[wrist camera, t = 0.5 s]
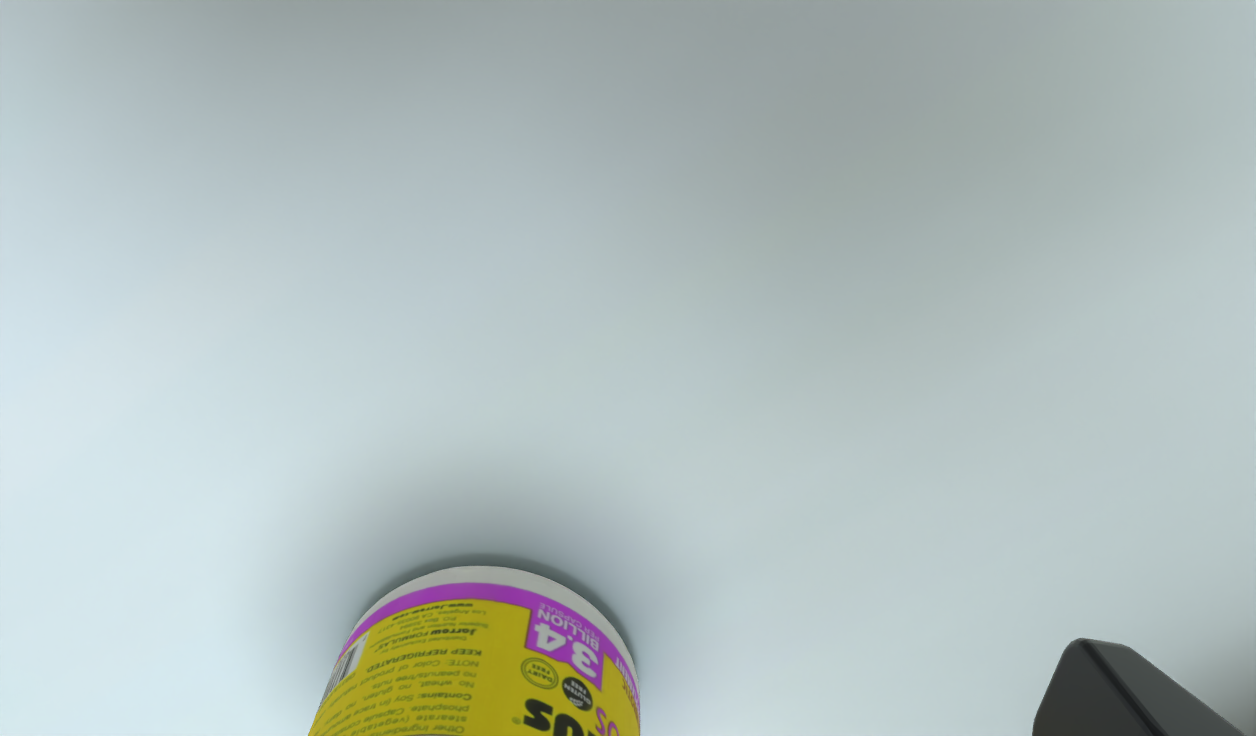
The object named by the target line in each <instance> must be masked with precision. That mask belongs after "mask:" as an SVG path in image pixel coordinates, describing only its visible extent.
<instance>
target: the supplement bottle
mask: <svg viewBox="0 0 1256 736" xmlns="http://www.w3.org/2000/svg"><path fill="white" fill-rule="evenodd" d="M308 736H640V692H639V684H638V678H637V674H636V670H635V667H634V664H633V660H632V658H631V656H630V654H629V652H628V650H627V648H626V645H625V644H624V642H623V640H622V639H621V637H620V636H619V634H618V632H617V631H616V630H615V628H614V627H613V626H612V625H611V623H610V622H609V621H608V620H607V619H606V618H605V617H604V616H603V615H602V614H601V613H600V612H599V611H598V610H597V609H596V608H595V607H594V606H593V605H592V604H590V603H589V602H588V601H587V600H585V599H584V598H583V597H581V596H580V595H578V594H576V593H575V592H573V591H572V590H570V589H569V588H567V587H565V586H563V585H561V584H558V583H556V582H554V581H552V580H550V579H547V578H545V577H542V576H540V575H536V574H533V573H530V572H527V571H522V570H518V569H513V568H507V567H496V566H462V567H453V568H448V569H443V570H439V571H436V572H433V573H430V574H427V575H424V576H422V577H419V578H416V579H414V580H412V581H409V582H407V583H405V584H403V585H401V586H399V587H398V588H396V589H394V590H393V591H391V592H389V593H388V594H386V595H385V596H384V597H383V598H381V599H380V600H379V601H378V602H377V603H375V604H374V605H373V606H372V607H371V608H370V609H369V610H368V611H367V612H366V613H365V614H364V615H363V616H362V617H361V619H360V620H359V621H358V623H357V624H356V625H355V627H354V628H353V630H352V632H351V633H350V635H349V637H348V639H347V641H346V643H345V644H344V646H343V649H342V651H341V654H340V656H339V658H338V660H337V663H336V665H335V667H334V669H333V672H332V675H331V678H330V680H329V682H328V685H327V687H326V690H325V693H324V696H323V698H322V701H321V703H320V706H319V709H318V711H317V714H316V716H315V719H314V722H313V725H312V727H311V729H310V732H309V734H308Z"/></svg>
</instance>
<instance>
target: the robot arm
mask: <svg viewBox="0 0 1256 736" xmlns="http://www.w3.org/2000/svg"><path fill="white" fill-rule="evenodd" d="M1032 736H1246V735H1245V734H1243V733H1242V732H1241V731H1239V730H1238V729H1237V728H1235V727H1234V726H1233V725H1232V724H1230V723H1229V722H1228V721H1226V720H1225V719H1224V718H1222V717H1221V716H1220V715H1218V714H1217V713H1216V712H1214V711H1213V710H1212V709H1210V708H1209V707H1208V706H1207V705H1205V704H1204V703H1203V702H1201V701H1200V700H1199V699H1197V698H1196V697H1195V696H1193V695H1192V694H1191V693H1189V692H1188V691H1187V690H1185V689H1184V688H1183V687H1182V686H1180V685H1179V684H1178V683H1176V682H1175V681H1174V680H1172V679H1171V678H1170V677H1168V676H1167V675H1166V674H1164V673H1163V672H1162V671H1160V670H1159V669H1158V668H1157V667H1155V666H1154V665H1153V664H1151V663H1150V662H1149V661H1147V660H1146V659H1145V658H1143V657H1142V656H1141V655H1139V654H1138V653H1137V652H1135V651H1134V650H1133V649H1131V648H1130V647H1127V646H1125V645H1122V644H1117V643H1111V642H1105V641H1099V640H1093V639H1086V638H1079V639H1076V640H1074V641H1072V642H1071V643H1070V644H1069V645H1068V646H1067V647H1066V649H1065V650H1064V652H1063V654H1062V656H1061V658H1060V661H1059V663H1058V665H1057V668H1056V670H1055V672H1054V674H1053V677H1052V679H1051V681H1050V684H1049V686H1048V688H1047V691H1046V693H1045V695H1044V697H1043V700H1042V702H1041V704H1040V707H1039V709H1038V711H1037V714H1036V717H1035V720H1034V725H1033V732H1032Z"/></svg>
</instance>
